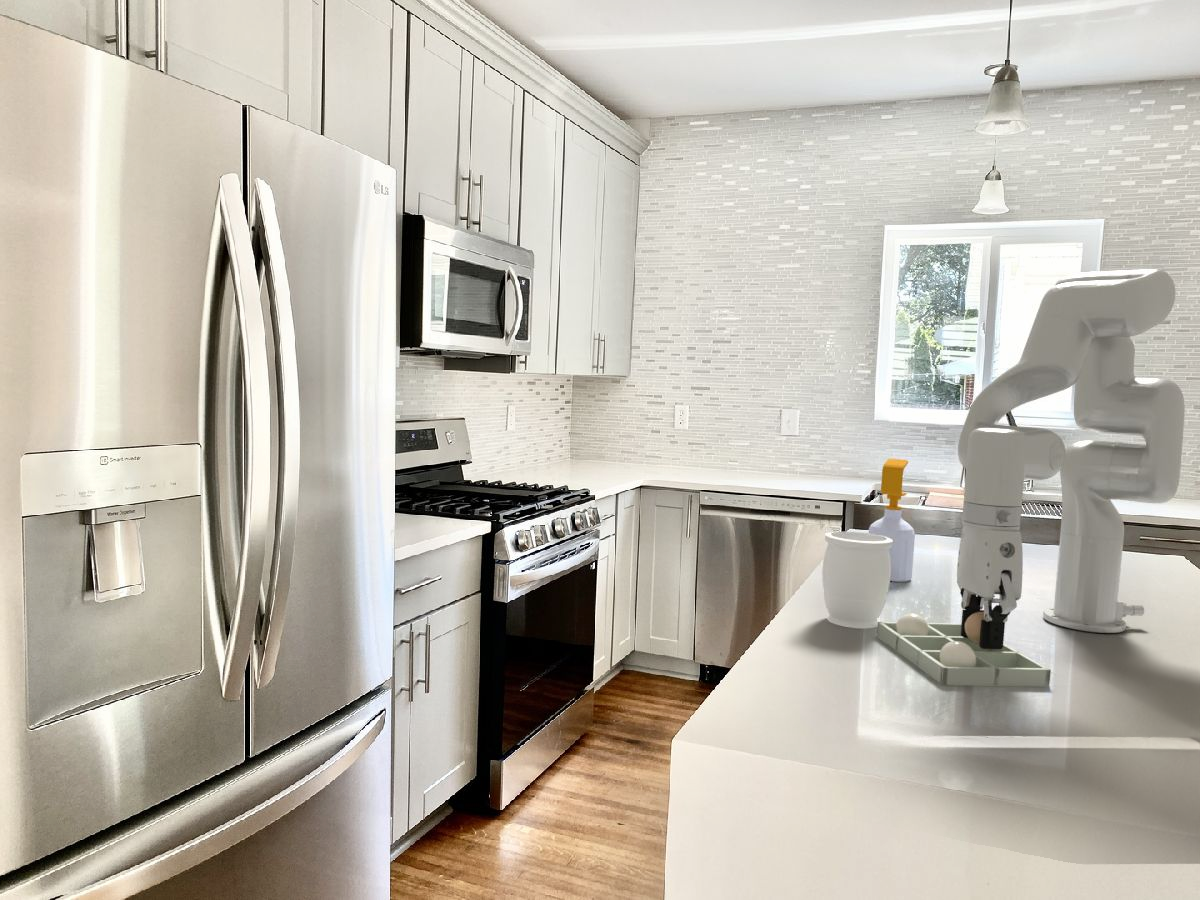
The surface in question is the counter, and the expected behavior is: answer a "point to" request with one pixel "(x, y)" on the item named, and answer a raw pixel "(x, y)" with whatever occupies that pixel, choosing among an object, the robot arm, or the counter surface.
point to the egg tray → (988, 670)
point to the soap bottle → (895, 522)
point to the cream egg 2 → (957, 655)
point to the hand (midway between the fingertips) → (981, 641)
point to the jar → (856, 577)
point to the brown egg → (974, 626)
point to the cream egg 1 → (912, 625)
